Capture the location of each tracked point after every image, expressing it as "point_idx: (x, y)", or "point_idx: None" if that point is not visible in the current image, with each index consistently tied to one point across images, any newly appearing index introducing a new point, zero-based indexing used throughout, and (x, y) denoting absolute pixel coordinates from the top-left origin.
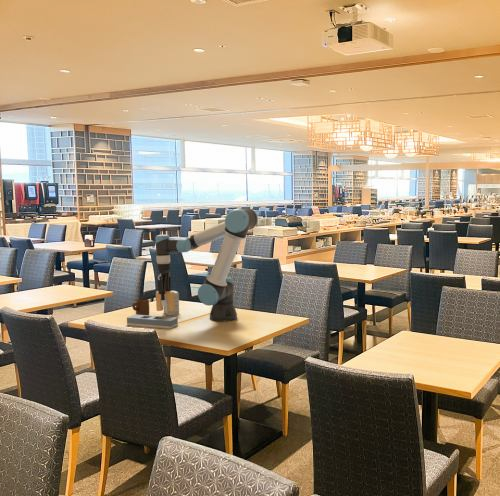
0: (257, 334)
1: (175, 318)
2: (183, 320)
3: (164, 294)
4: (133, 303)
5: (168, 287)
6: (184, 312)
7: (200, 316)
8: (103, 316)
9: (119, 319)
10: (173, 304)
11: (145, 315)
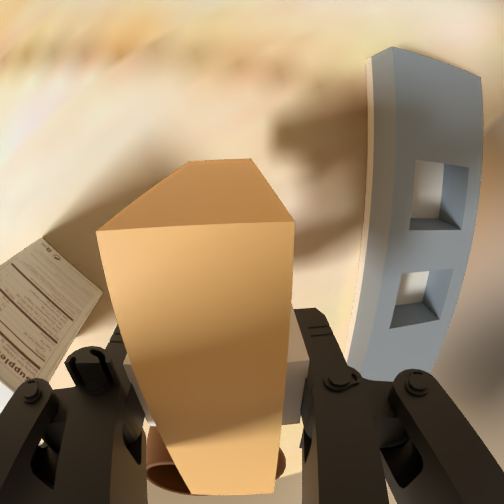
0: None
1: (421, 56)
2: (210, 78)
3: (306, 372)
4: (280, 475)
5: (103, 477)
6: (6, 226)
7: (56, 50)
8: None
9: None
10: (223, 168)
11: (378, 331)
